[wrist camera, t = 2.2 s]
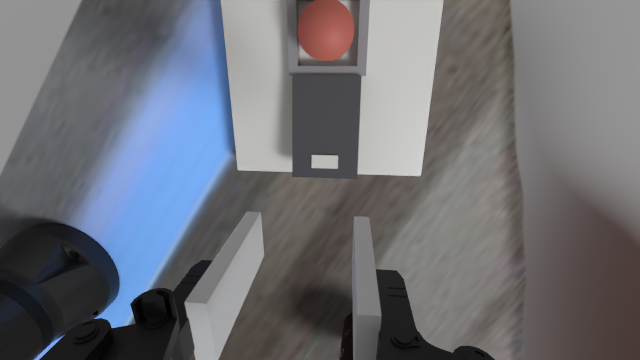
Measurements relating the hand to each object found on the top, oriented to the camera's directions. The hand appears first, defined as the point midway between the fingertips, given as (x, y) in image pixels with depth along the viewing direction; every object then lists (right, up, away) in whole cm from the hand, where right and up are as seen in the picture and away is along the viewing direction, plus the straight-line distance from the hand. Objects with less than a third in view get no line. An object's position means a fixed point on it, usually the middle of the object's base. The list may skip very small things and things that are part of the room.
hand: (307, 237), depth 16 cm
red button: (+1, +15, +9) cm, 18 cm away
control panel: (+2, +17, +14) cm, 22 cm away
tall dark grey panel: (+1, +8, +12) cm, 15 cm away
